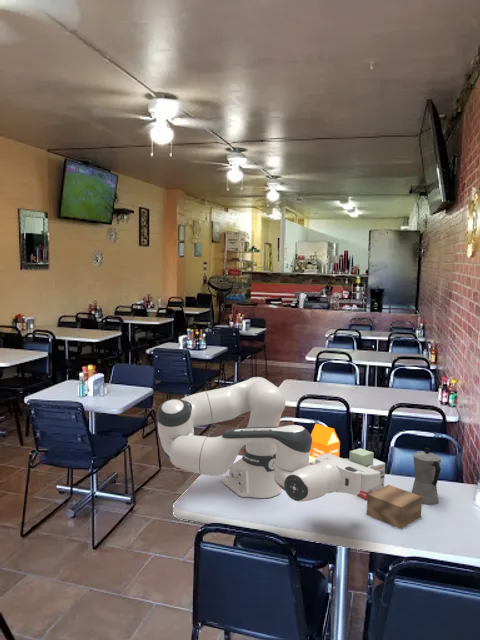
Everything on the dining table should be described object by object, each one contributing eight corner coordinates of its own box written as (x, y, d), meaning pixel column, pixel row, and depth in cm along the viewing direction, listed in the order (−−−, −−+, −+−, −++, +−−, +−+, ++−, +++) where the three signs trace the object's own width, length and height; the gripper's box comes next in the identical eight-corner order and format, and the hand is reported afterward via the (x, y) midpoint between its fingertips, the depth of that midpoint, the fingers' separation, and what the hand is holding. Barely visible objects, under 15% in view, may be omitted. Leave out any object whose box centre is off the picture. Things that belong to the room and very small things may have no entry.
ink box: (367, 500, 172) (368, 466, 171) (356, 495, 176) (357, 462, 175) (384, 495, 176) (385, 462, 176) (373, 490, 181) (374, 457, 180)
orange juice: (320, 472, 196) (321, 421, 195) (338, 479, 190) (340, 427, 188) (307, 477, 191) (308, 425, 189) (325, 484, 184) (327, 430, 183)
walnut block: (366, 515, 161) (367, 494, 161) (387, 504, 169) (388, 484, 169) (400, 529, 153) (401, 507, 152) (420, 518, 160) (422, 496, 160)
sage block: (348, 483, 154) (349, 451, 153) (358, 479, 157) (360, 448, 156) (361, 489, 150) (363, 456, 149) (372, 484, 153) (373, 452, 152)
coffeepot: (403, 491, 180) (405, 441, 179) (428, 490, 181) (431, 441, 180) (423, 511, 165) (426, 457, 163) (450, 510, 166) (453, 456, 164)
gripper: (305, 474, 153) (335, 464, 162) (361, 497, 137) (391, 485, 146) (306, 453, 152) (336, 444, 161) (362, 474, 137) (392, 463, 145)
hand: (363, 464), depth 153 cm, fingers closed on sage block, 5 cm apart
